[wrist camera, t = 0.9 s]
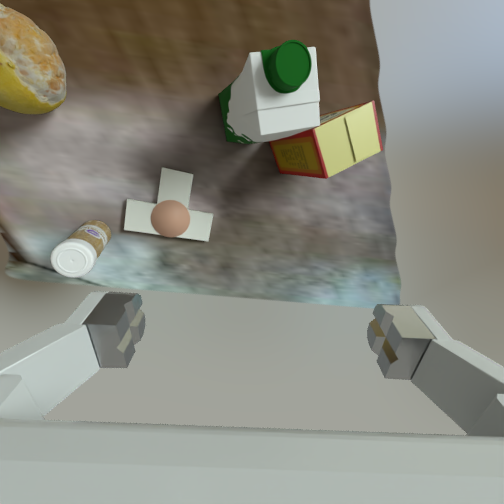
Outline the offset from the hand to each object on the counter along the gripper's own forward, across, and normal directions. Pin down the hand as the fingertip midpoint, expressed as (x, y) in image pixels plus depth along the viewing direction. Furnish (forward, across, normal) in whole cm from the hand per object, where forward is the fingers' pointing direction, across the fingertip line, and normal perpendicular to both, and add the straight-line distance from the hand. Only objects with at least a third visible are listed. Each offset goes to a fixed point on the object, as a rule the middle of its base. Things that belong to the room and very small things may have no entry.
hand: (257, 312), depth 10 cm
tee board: (+37, +14, +10) cm, 41 cm away
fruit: (+36, +30, -8) cm, 47 cm away
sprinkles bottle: (+33, +25, +14) cm, 44 cm away
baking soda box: (+46, -8, 0) cm, 47 cm away
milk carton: (+44, +2, -4) cm, 44 cm away
